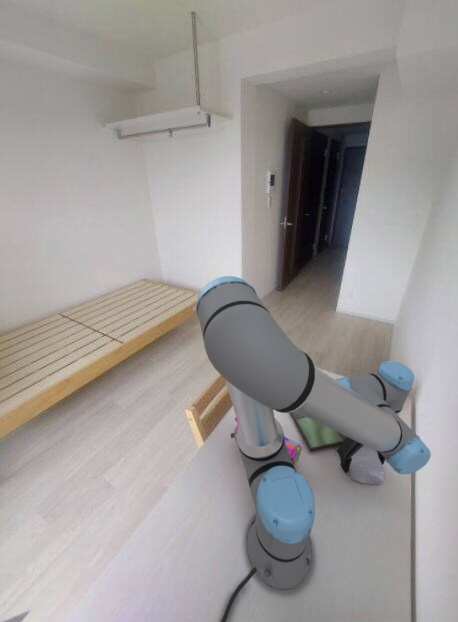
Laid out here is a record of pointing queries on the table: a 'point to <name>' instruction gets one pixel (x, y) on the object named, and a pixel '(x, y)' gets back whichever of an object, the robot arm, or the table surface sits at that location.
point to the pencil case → (292, 447)
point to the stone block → (366, 467)
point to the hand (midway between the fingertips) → (361, 464)
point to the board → (316, 433)
